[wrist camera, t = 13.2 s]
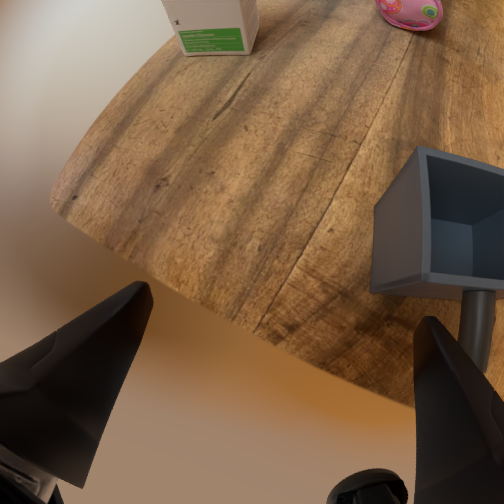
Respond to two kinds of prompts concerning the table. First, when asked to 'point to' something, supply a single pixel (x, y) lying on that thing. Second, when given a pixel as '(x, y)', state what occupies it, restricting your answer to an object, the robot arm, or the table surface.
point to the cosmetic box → (214, 25)
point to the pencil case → (411, 13)
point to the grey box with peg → (444, 240)
